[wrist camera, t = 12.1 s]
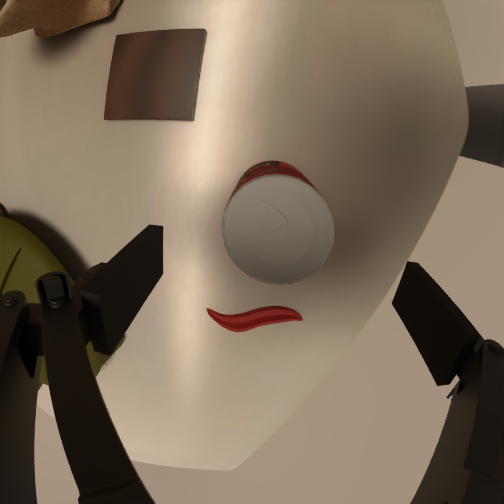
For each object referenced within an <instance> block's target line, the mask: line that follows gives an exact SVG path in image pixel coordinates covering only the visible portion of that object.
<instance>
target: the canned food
mask: <svg viewBox="0 0 504 504" xmlns="http://www.w3.org/2000/svg"><path fill="white" fill-rule="evenodd" d="M222 236H223V240H224V245H225V247H226V250H227V252H228V254H229V256H230V257H231V259H232V260H233V262H234V263H235V264H236V265H237V266H238V267H239V268H240V269H241V270H242V271H243V272H244V273H246V274H247V275H249V276H250V277H252V278H254V279H256V280H258V281H261V282H265V283H269V284H277V285H283V284H292V283H295V282H299V281H302V280H304V279H306V278H308V277H310V276H311V275H312V274H314V273H315V272H316V271H318V270H319V269H320V268H321V266H322V265H323V264H324V263H325V262H326V260H327V258H328V257H329V255H330V253H331V250H332V247H333V243H334V236H335V229H334V221H333V217H332V214H331V211H330V209H329V207H328V205H327V203H326V201H325V200H324V198H323V197H322V196H321V194H320V193H319V192H318V191H317V189H316V188H315V187H314V186H313V185H312V184H311V183H310V182H309V181H308V179H307V178H306V177H305V176H304V175H303V174H302V173H301V172H300V171H298V170H297V169H296V168H295V167H293V166H291V165H289V164H287V163H284V162H280V161H264V162H261V163H258V164H256V165H254V166H252V167H251V168H249V169H248V170H247V171H246V172H245V173H244V174H243V176H242V177H241V178H240V180H239V182H238V184H237V186H236V188H235V189H234V191H233V193H232V195H231V197H230V199H229V201H228V204H227V206H226V208H225V211H224V216H223V220H222Z"/></svg>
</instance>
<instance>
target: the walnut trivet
mask: <svg viewBox="0 0 504 504" xmlns="http://www.w3.org/2000/svg"><path fill="white" fill-rule="evenodd" d="M206 34H207V31H206V30H205V29H172V30H157V31H146V32H137V33H129V34H122V35H117V36H116V40H115V45H114V50H113V55H112V61H111V67H110V73H109V80H108V87H107V95H106V103H105V113H104V120H112V119H174V120H194V113H195V105H196V97H197V90H198V83H199V76H200V69H201V63H202V57H203V51H204V45H205V39H206Z"/></svg>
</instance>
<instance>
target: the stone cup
mask: <svg viewBox="0 0 504 504" xmlns="http://www.w3.org/2000/svg"><path fill="white" fill-rule="evenodd" d="M120 1H121V0H0V37H6V36H9V35H13V34H16V33H19V32H22V31H25V30H28V29H32V28H34V31H35V35H36V36H37V37H49V36H53V35H57V34H60V33H62V32H65V31H67V30H70V29H73V28H76V27H79V26H81V25H84V24H87V23H90V22H93V21H97V20H100V19H103V18H105V17H108V16H109V15H110V14H112V12H113V10H114V9H115V8H116V7H117V5H118V4H119V3H120Z"/></svg>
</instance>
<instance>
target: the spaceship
mask: <svg viewBox="0 0 504 504" xmlns="http://www.w3.org/2000/svg"><path fill="white" fill-rule="evenodd" d="M54 271H60V272H64V273H66V274H68V273H67V272H66V270H65V269H64V267H63V266H62V264H61V263H60V262H59V261H58V260H57V259H56V257H55V256H54V255H53V254H52V253H51V251H50V250H49V249H48V248H47V246H45V245H44V244H43V243H42V242H41V241H40V240H39V239H38V238H37V237H36V236H35V235H34V234H33V233H32V232H31V231H29V230H28V229H26V228H25V227H23V226H22V225H20V224H19V223H18V222H16V221H14V220H11V219H9V218H6V217H5V215H4V212H3V210H2V208H1V207H0V296H2V295H3V294H4V293H6V292H8V291H14V290H17V291H21V292H23V293H24V294H25V296H26V300H27V303H40V302H39V298H38V294H37V290H36V286H35V282H36V280H37V279H38V278H39V277H40V276H42V275H43V274H45V273H49V272H54ZM68 276H69V275H68ZM69 278H70V276H69ZM70 283H71V286H72V285H73V284H75V283H74V282H73V280H72V279H71V278H70ZM122 342H123V337H122V339H121V340H120V342H119V344H118V345H117V347H116V349H115V350H114V352H115V351H116V350H117V349H118V348H119V347H120V346H121V344H122ZM86 349H87V352H88V355H89V359H90V362H91V365H92V368H93V371H94V374H95V377H96V376H97V374H98V373H99V371H100V368H101V366H102V365H103V364H104V363H105V362H106V361H107V360H108V359H109V358H110V357H111V356H112V355H113V354H114V352H113V354H112V355H111V356H108V355H105V354H101V353H98V352H95V351H94V350H93V346H92V342H91V340H90V342H89V343H88V345H87V346H86ZM42 384H46V385H49V384H48V379H47V372H46V365H45V358H44V356H43V359H42V365H41V372H40V378H39V386H38V390H39V389H40V387H41V386H42Z"/></svg>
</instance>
